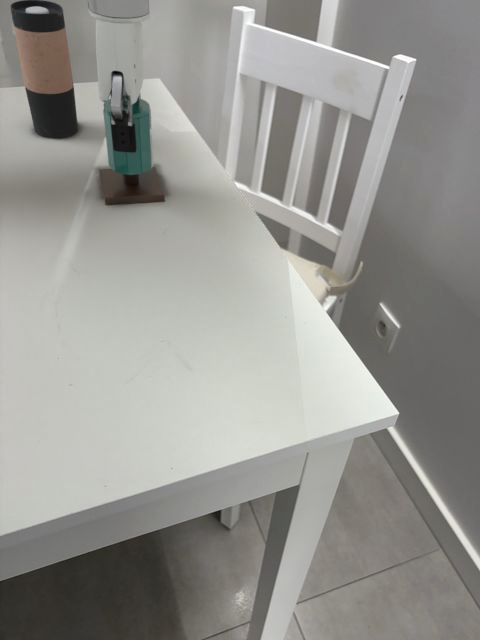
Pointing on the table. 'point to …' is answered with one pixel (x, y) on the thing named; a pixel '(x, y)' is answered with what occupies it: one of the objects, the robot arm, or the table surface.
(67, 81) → the travel mug
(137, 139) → the cup
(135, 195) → the cup stand
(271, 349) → the table surface
